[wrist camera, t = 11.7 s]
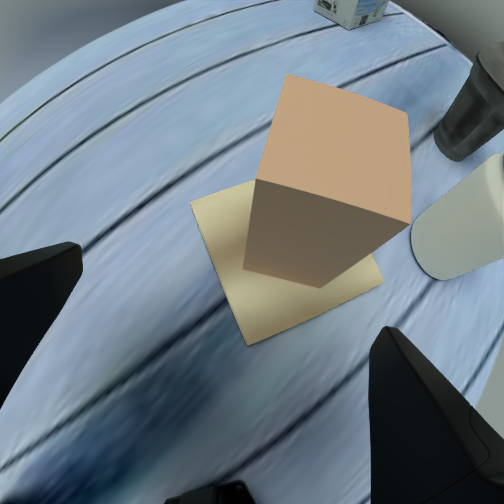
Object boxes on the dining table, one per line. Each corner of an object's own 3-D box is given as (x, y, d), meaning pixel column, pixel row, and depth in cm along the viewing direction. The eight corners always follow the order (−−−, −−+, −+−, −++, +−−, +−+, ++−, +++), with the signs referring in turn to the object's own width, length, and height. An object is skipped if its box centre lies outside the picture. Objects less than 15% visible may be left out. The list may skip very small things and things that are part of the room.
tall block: (319, 288, 21) (410, 224, 10) (242, 268, 21) (255, 178, 10) (332, 217, 23) (407, 113, 11) (261, 198, 23) (286, 73, 11)
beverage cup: (412, 121, 28) (502, -15, 9) (450, 117, 30) (533, 7, 10) (446, 177, 27) (569, 51, 7) (481, 167, 28) (585, 65, 9)
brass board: (377, 285, 23) (384, 281, 22) (246, 345, 21) (247, 346, 20) (316, 166, 25) (320, 159, 24) (191, 208, 24) (189, 202, 22)
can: (438, 203, 25) (518, 134, 14) (471, 261, 24) (563, 214, 13) (395, 229, 24) (484, 154, 13) (431, 295, 23) (538, 254, 11)
